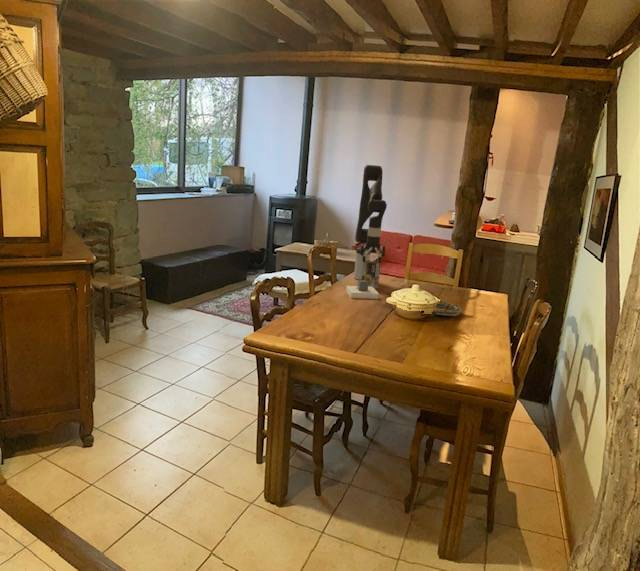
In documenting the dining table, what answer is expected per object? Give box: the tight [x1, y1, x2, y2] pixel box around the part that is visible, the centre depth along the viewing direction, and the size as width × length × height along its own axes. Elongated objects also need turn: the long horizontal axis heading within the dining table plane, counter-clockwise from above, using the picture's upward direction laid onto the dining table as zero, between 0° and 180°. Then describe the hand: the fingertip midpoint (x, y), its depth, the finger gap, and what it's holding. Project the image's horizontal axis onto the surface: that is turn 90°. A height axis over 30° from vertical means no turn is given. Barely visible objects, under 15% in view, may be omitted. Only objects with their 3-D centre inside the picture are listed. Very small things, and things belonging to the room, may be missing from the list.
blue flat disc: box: [430, 300, 463, 318], centre depth 255 cm, size 28×27×5 cm
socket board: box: [345, 285, 380, 300], centre depth 280 cm, size 16×16×3 cm
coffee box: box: [362, 260, 381, 290], centre depth 297 cm, size 9×6×16 cm
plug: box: [356, 280, 368, 291], centre depth 279 cm, size 5×5×8 cm
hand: (371, 262), depth 279 cm, fingers open, 8 cm apart
